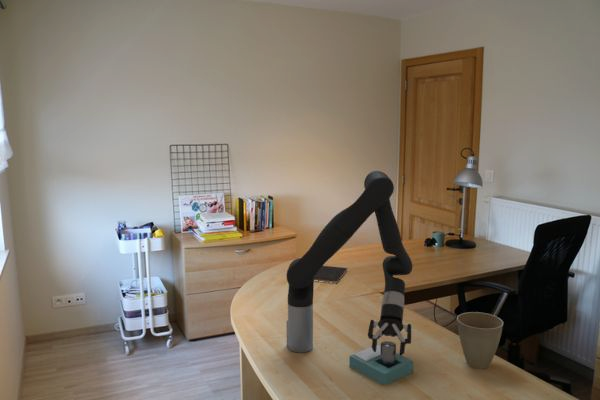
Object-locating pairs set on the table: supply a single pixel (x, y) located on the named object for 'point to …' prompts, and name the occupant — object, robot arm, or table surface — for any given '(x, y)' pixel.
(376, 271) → the table surface
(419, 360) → the table surface
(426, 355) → the table surface
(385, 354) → the dark grey cylinder
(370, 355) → the jig
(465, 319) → the plant pot
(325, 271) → the hardcover book
